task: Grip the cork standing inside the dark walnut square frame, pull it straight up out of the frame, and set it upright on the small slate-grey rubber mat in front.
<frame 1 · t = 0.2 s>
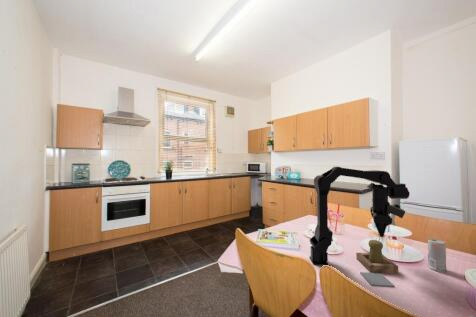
hand: (380, 233, 87), 14 cm above the table, tool pointing down, fingers open, 9 cm apart
rubber mat: (376, 279, 75), on the table
walnut frame: (375, 265, 85), on the table
energy drink: (437, 269, 82), on the table
cork: (376, 266, 85), resting in walnut frame
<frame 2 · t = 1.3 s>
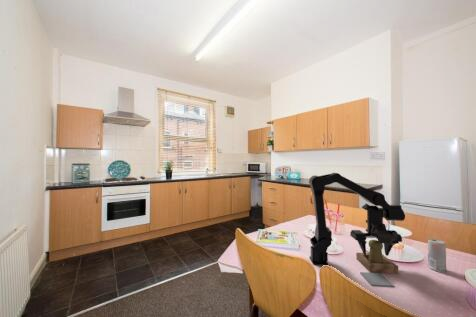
hand: (375, 255, 85), 5 cm above the table, tool pointing down, fingers open, 9 cm apart
nothing on the table moved.
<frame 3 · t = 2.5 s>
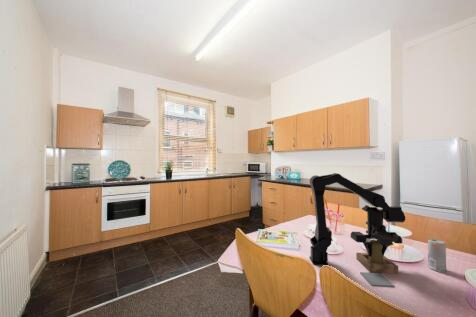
hand: (375, 256, 85), 4 cm above the table, tool pointing down, fingers closed on cork, 4 cm apart
cork: (376, 266, 85), resting in walnut frame, touching gripper
everything else where it was.
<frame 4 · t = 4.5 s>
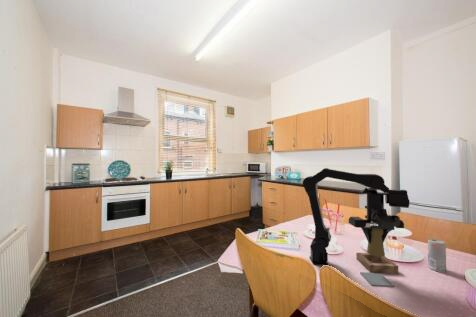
hand: (375, 243, 79), 13 cm above the table, tool pointing down, fingers closed on cork, 4 cm apart
cork: (375, 253, 79), point 9 cm above the table, touching gripper
everything else where it was.
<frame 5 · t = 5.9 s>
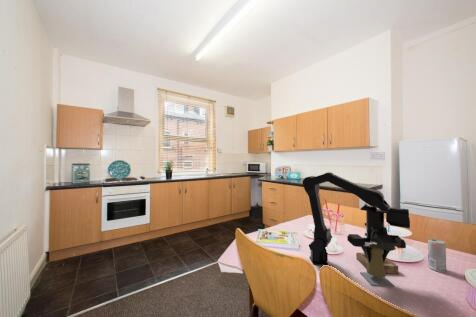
hand: (375, 262, 76), 7 cm above the table, tool pointing down, fingers closed on cork, 4 cm apart
cork: (375, 273, 75), point 2 cm above the table, touching gripper
everything else where it was.
when the fingers open (5 cm above the table, at t = 6.9 s): cork stays where it is, resting on rubber mat.
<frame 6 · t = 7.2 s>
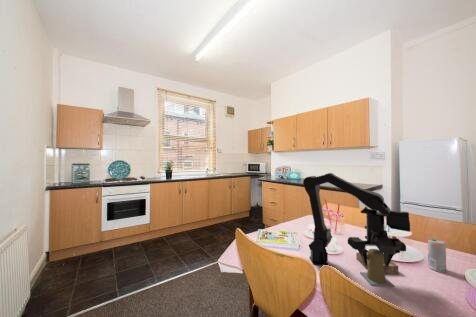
hand: (376, 265, 75), 5 cm above the table, tool pointing down, fingers open, 7 cm apart
cork: (376, 279, 75), resting on rubber mat
everything else where it was.
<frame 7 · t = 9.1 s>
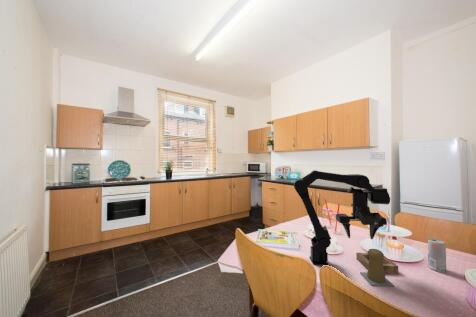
hand: (360, 238, 85), 12 cm above the table, tool pointing down, fingers open, 9 cm apart
nothing on the table moved.
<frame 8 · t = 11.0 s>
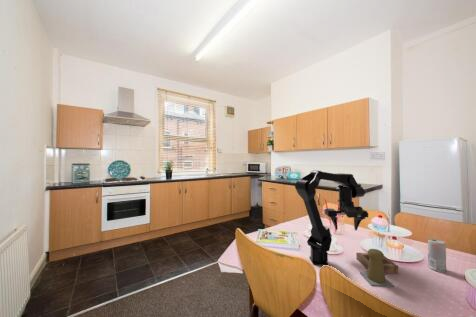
hand: (346, 230, 96), 12 cm above the table, tool pointing down, fingers open, 9 cm apart
nothing on the table moved.
at the end: cork inside the target area (0.1 cm from its centre), resting on rubber mat; cork tilted 0°; the gripper is holding nothing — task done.
